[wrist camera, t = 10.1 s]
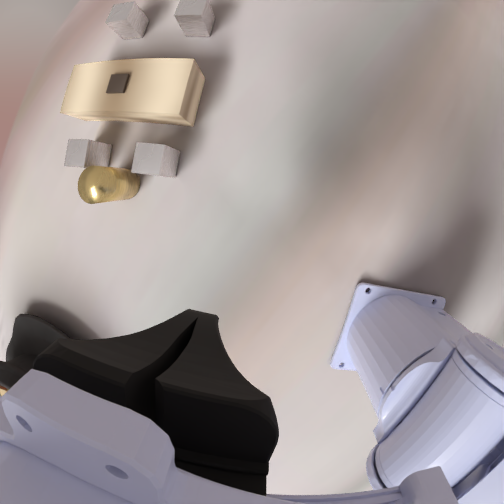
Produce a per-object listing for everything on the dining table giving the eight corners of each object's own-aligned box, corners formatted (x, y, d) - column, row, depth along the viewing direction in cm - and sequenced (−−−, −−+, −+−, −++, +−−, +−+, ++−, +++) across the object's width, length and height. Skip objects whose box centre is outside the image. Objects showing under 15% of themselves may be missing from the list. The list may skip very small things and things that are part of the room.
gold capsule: (142, 170, 20) (110, 167, 15) (137, 201, 20) (104, 206, 15) (116, 167, 20) (80, 164, 15) (111, 197, 20) (76, 201, 15)
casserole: (124, 469, 29) (107, 509, 21) (27, 412, 28) (2, 441, 20) (139, 355, 24) (99, 413, 15) (7, 280, 23) (-43, 305, 15)
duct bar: (205, 79, 18) (193, 57, 14) (194, 127, 19) (177, 113, 15) (98, 79, 18) (72, 64, 14) (87, 121, 19) (57, 112, 15)
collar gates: (215, 19, 17) (208, -4, 13) (175, 177, 20) (158, 175, 16) (129, 22, 17) (113, 4, 13) (89, 167, 20) (64, 166, 16)
